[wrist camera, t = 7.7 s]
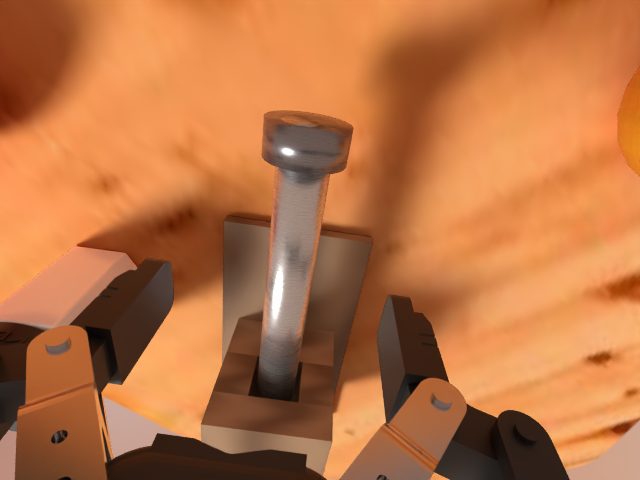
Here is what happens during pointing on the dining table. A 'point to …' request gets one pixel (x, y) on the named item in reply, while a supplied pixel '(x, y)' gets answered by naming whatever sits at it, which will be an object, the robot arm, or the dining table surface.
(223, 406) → the bearing block
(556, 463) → the robot arm
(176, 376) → the dining table surface
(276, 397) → the shaft
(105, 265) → the jar
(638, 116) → the fruit
